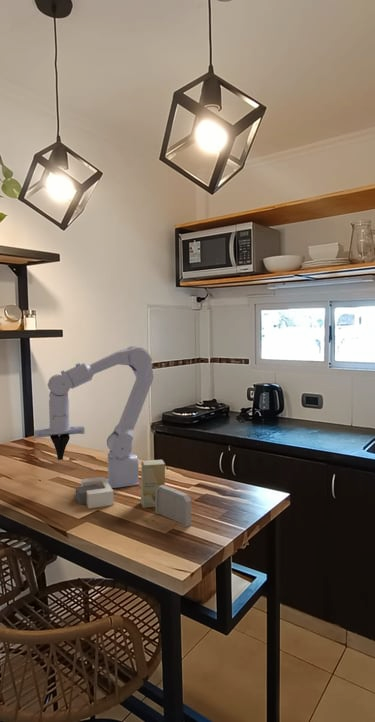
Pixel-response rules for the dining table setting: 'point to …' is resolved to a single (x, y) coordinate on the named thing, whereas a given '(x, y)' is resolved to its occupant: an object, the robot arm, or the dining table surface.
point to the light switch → (173, 504)
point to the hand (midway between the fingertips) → (60, 458)
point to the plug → (84, 493)
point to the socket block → (98, 492)
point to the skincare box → (151, 480)
